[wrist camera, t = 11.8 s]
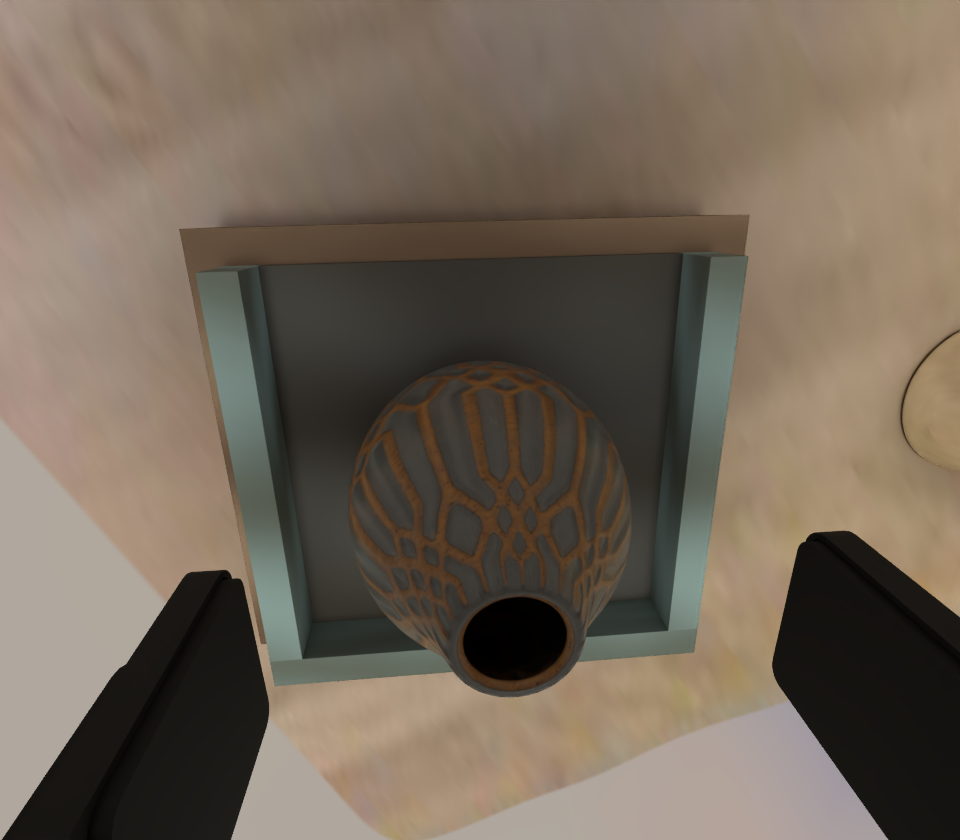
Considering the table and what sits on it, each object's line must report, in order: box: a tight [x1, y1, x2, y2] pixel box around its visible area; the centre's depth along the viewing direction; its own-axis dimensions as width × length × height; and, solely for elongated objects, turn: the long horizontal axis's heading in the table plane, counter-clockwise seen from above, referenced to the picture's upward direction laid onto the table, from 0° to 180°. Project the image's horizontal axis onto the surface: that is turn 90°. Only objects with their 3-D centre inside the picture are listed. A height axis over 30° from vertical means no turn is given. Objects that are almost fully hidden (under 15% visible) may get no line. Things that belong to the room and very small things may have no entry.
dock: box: [179, 215, 749, 686], centre depth 18 cm, size 14×16×5 cm
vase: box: [348, 361, 632, 697], centre depth 13 cm, size 7×7×9 cm
